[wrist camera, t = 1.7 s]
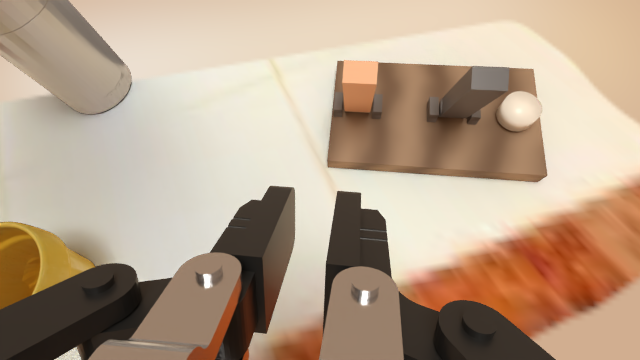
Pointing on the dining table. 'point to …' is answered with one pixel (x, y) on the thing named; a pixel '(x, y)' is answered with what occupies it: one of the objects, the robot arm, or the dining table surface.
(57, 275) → the plant pot
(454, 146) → the switch board
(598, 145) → the dining table surface
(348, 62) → the orange block
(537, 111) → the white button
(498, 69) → the long grey beam
